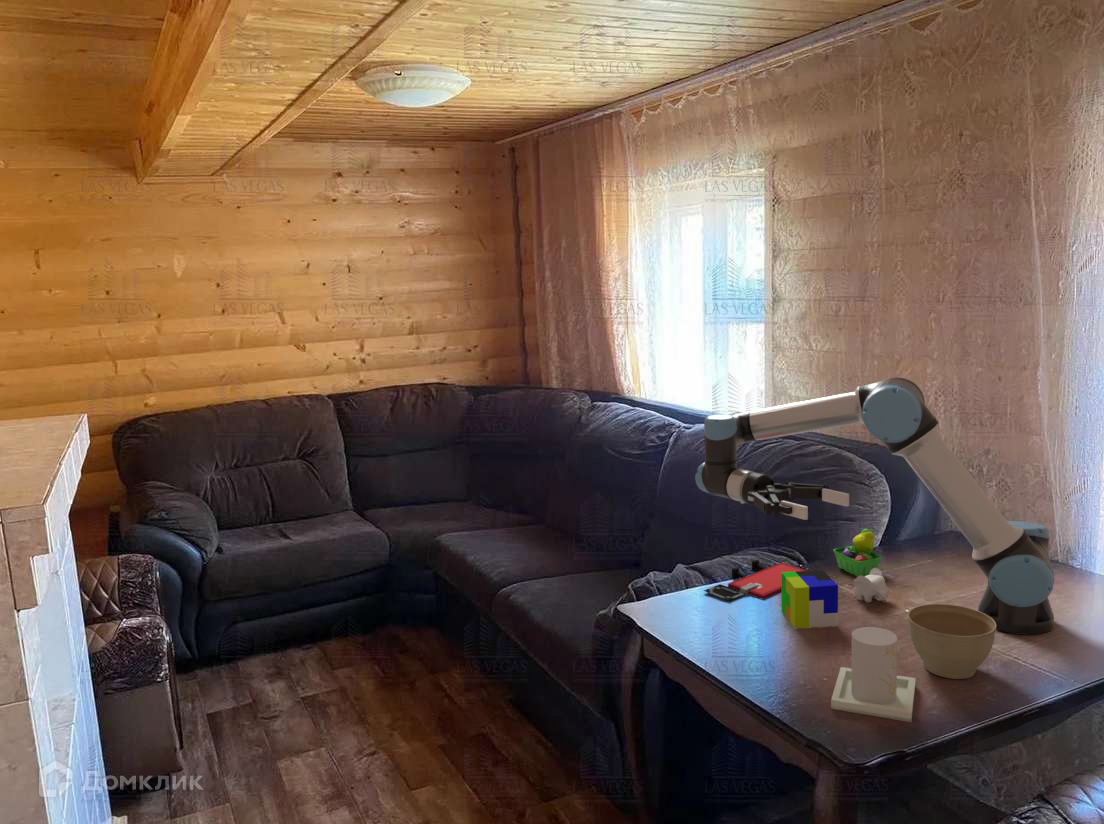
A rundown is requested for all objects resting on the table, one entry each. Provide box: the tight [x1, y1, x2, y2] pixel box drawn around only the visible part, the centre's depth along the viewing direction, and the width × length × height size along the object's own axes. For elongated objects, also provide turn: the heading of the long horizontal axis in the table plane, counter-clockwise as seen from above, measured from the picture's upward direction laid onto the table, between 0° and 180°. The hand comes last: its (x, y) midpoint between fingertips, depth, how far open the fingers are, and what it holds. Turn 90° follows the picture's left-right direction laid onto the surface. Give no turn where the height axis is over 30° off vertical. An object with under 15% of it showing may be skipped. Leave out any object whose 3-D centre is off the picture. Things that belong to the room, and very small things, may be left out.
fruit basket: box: [833, 528, 882, 578], centre depth 228 cm, size 11×9×11 cm
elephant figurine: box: [853, 568, 894, 603], centre depth 209 cm, size 8×10×7 cm
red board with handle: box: [703, 559, 808, 601], centre depth 224 cm, size 30×3×15 cm
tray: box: [830, 666, 917, 723], centre depth 164 cm, size 14×14×2 cm
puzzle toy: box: [780, 569, 839, 629], centre depth 200 cm, size 10×10×10 cm
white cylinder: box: [851, 626, 898, 705], centre depth 163 cm, size 8×8×12 cm
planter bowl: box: [907, 603, 997, 680], centre depth 173 cm, size 16×16×11 cm
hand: (827, 506), depth 180 cm, fingers open, 13 cm apart
